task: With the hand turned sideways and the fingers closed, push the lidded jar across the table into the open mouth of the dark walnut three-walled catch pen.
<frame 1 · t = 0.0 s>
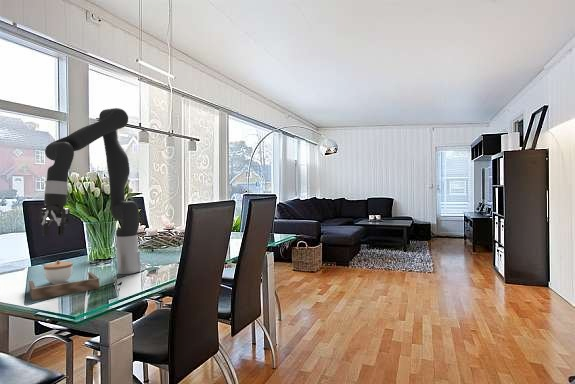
hand: (52, 235, 152), 22 cm above the table, tool pointing down, fingers open, 8 cm apart
catch pen: (64, 289, 159), on the table
lidded jar: (59, 282, 171), on the table
olive oil: (106, 258, 222), on the table
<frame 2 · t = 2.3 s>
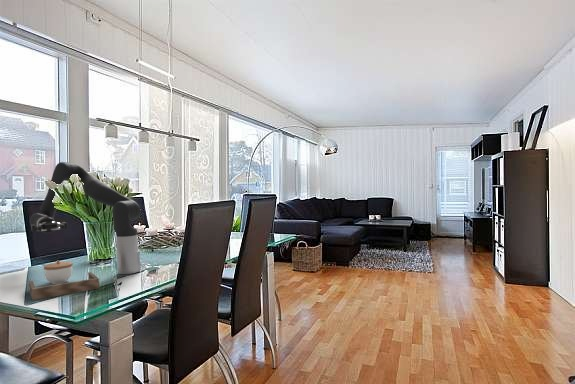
hand: (51, 228, 180), 22 cm above the table, tool horizontal, fingers open, 8 cm apart
nothing on the table moved.
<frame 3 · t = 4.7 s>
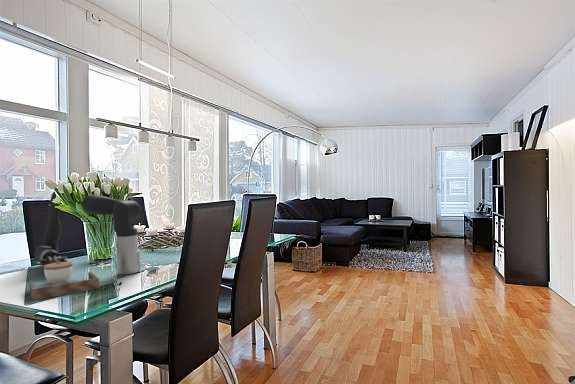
hand: (54, 263, 180), 6 cm above the table, tool horizontal, fingers closed
nothing on the table moved.
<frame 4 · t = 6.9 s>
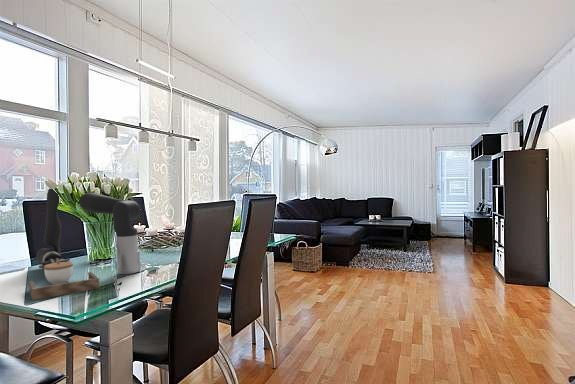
hand: (57, 266, 174), 6 cm above the table, tool horizontal, fingers closed
lidded jar: (59, 282, 170), on the table, touching gripper
everything else where it was.
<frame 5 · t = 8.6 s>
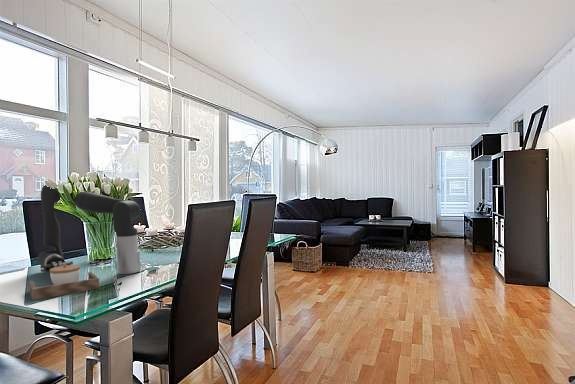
hand: (59, 269, 166), 6 cm above the table, tool horizontal, fingers closed
lidded jar: (65, 287, 163), on the table, touching gripper
everything else where it was.
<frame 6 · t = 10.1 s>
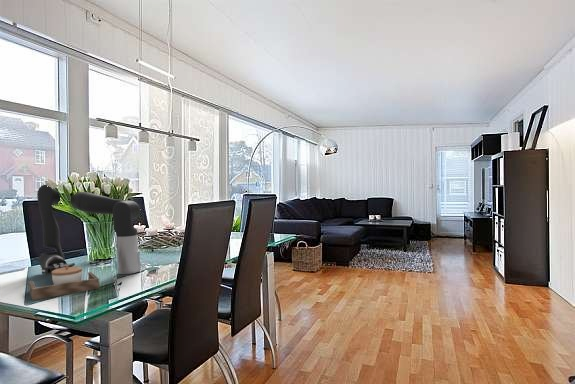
hand: (61, 271, 162), 6 cm above the table, tool horizontal, fingers closed
lidded jar: (68, 289, 159), on the table, touching gripper
everything else where it was.
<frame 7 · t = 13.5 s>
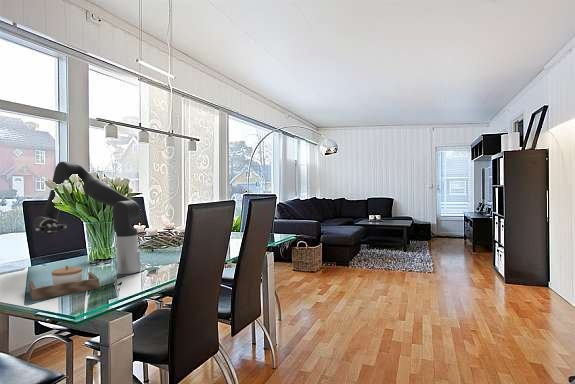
hand: (53, 229, 178), 22 cm above the table, tool horizontal, fingers closed
lidded jar: (68, 289, 159), on the table
everything else where it was.
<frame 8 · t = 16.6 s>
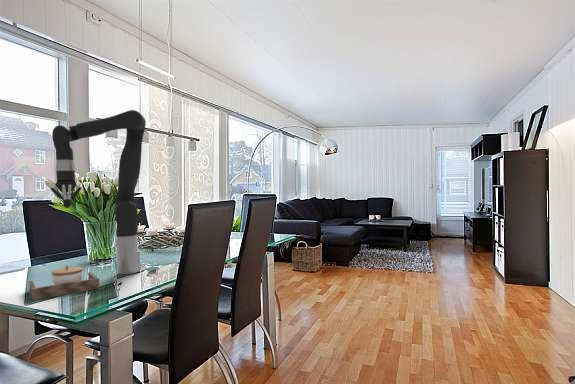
hand: (67, 207, 183), 31 cm above the table, tool pointing down, fingers closed
nothing on the table moved.
at the end: lidded jar inside the target area on the catch pen (1.3 cm from its centre), point 0.0 cm above the catch pen's base; lidded jar tilted 0° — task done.
